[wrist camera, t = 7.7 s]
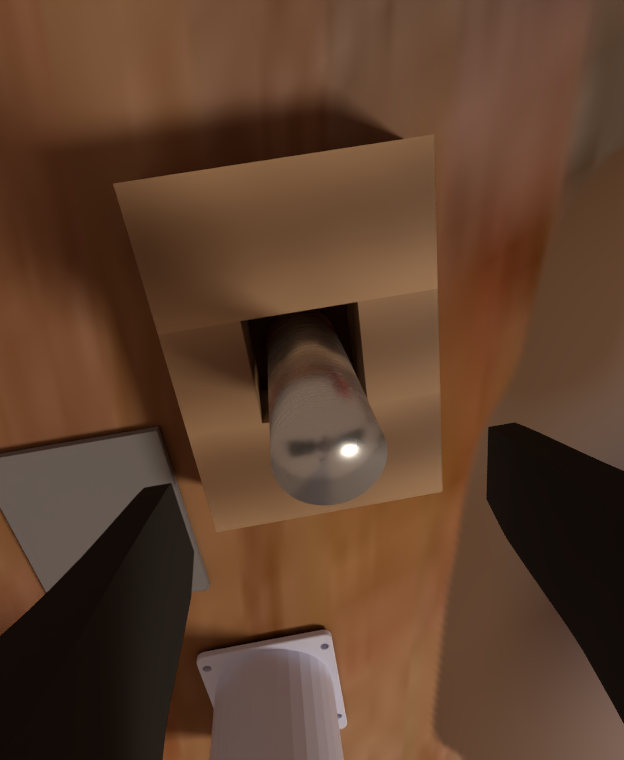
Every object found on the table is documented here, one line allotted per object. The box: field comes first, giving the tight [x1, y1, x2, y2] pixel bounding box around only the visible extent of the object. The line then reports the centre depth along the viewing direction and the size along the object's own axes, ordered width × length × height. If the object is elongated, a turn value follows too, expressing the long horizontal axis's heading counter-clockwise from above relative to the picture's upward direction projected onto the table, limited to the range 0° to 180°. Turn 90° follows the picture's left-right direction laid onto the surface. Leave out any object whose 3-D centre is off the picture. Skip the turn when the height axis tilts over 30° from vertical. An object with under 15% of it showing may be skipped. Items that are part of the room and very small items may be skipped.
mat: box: [0, 426, 210, 593], centre depth 23 cm, size 10×8×1 cm
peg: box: [267, 309, 387, 506], centre depth 16 cm, size 3×3×9 cm
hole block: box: [113, 134, 442, 532], centre depth 18 cm, size 14×10×3 cm
